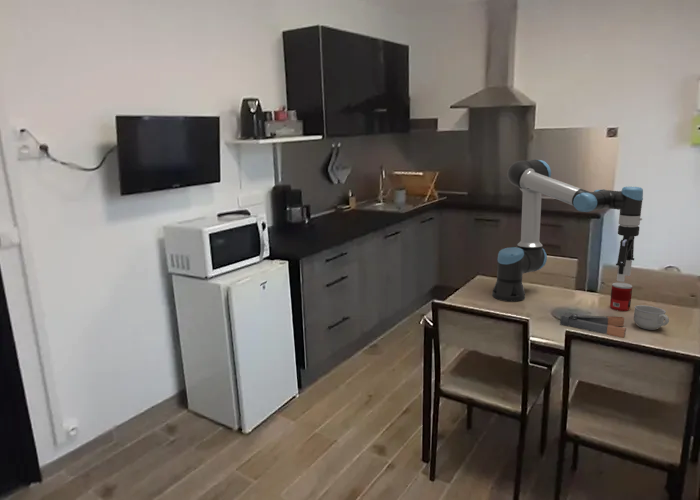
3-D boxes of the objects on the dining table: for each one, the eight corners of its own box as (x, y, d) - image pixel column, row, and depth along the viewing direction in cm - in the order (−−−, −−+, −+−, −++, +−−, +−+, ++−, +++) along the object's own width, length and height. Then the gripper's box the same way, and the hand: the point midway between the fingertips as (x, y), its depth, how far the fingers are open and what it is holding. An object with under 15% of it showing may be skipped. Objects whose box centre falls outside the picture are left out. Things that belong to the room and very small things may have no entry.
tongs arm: (571, 325, 206) (572, 315, 205) (569, 322, 210) (569, 312, 209) (624, 327, 203) (625, 317, 202) (621, 324, 207) (622, 314, 206)
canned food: (632, 311, 221) (635, 287, 219) (612, 310, 223) (615, 286, 221) (626, 306, 229) (629, 282, 226) (607, 305, 230) (609, 282, 228)
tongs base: (560, 324, 208) (560, 315, 207) (564, 320, 212) (565, 312, 211) (623, 337, 193) (624, 328, 193) (626, 333, 198) (627, 324, 197)
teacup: (626, 323, 209) (628, 304, 207) (651, 321, 209) (653, 303, 208) (649, 336, 195) (651, 316, 193) (675, 334, 196) (678, 315, 194)
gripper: (633, 230, 193) (627, 286, 198) (645, 222, 210) (639, 273, 215) (611, 228, 198) (606, 283, 203) (625, 220, 215) (620, 271, 220)
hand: (623, 278), depth 209 cm, fingers open, 10 cm apart
